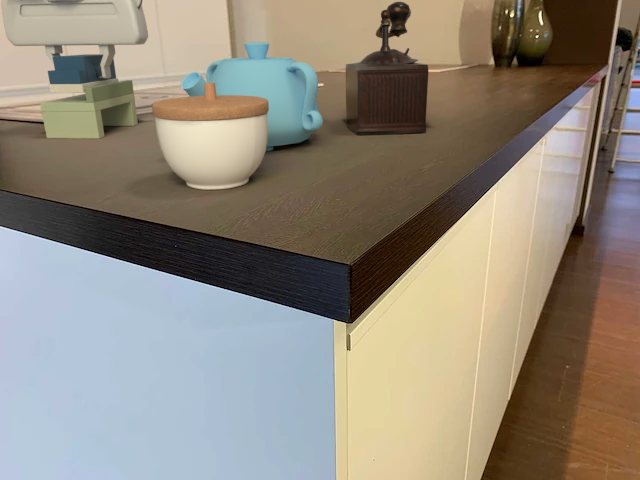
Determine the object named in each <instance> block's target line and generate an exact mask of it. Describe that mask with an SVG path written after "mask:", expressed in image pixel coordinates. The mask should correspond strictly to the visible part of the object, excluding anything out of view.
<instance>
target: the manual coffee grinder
mask: <svg viewBox="0 0 640 480" xmlns="http://www.w3.org/2000/svg"><path fill="white" fill-rule="evenodd" d="M411 14H412V10H411V8H410V5H409V4H408V3H406V2H404V1H393V2H392V3H390V4H389V5H388V6H387V8H386V9H383V10H381V11H380V19H381V20H380V25H379V27H378V28H377V30H376V31H375V36H376V37H377V38H380V39H381V47H380V49H379V50H376V51H373V52H371V53H369V54H367V55H366V56H364V58H363V59H361V61H359V62H353V63H346V64H345V108H346V109H345V112H346V121H345V123H346V127H347V128H348V129H349V130H350V131H351V132H353V133H354V134H355V135H393V134H394V135H395V134H416V133H417V134H418V133H420V134H421V133H423V134H424V133H426V132H427V126H426V124H427V107H428V105H427V104H428V87H429V65H428V64H425V63H420V62H419V59H416V58H412V57H411V56H410V55H408V54H409V51H410V48H409V47H408V48H406V49H405V52H403V51H401V50H398V49H395V48H391V47H390V45H389V41H390V40H389V39H391V38H393V37H396V38H400V36H402V35H405V34H407V33H408V29H407V27H406V23H407V22H408V20H409V18H410V17H411ZM389 28H390V29H389Z"/></svg>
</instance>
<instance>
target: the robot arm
mask: <svg viewBox="0 0 640 480" xmlns="http://www.w3.org/2000/svg"><path fill="white" fill-rule="evenodd" d="M0 5H1V14H2V22H3V27H4V31H5V35H6V38H7V40H8V41H9V42H10V44H12V45H13V46H14V47H40V46H41V47H44V48H45V54H46V56H47V57H48V59H49V60H50V61H51V62H52V64H53V65H54V62H53V57H56V56H62V55H61V54H63V53H64V51H63V46H98V51H99V54H103V57H102V60H101V64H100V66H95V70H96V72H97V73H96V76H97V78H111V71H110V65H111V63H112V60H113V59H114V58H115V55H116V47H115V46H134V45H135V46H138V45H145V43H146V42H147V41H148V39H149V31H148V25H147V21H146V16H145V13H144V9H143V6H142V5H143V0H1V4H0Z"/></svg>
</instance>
